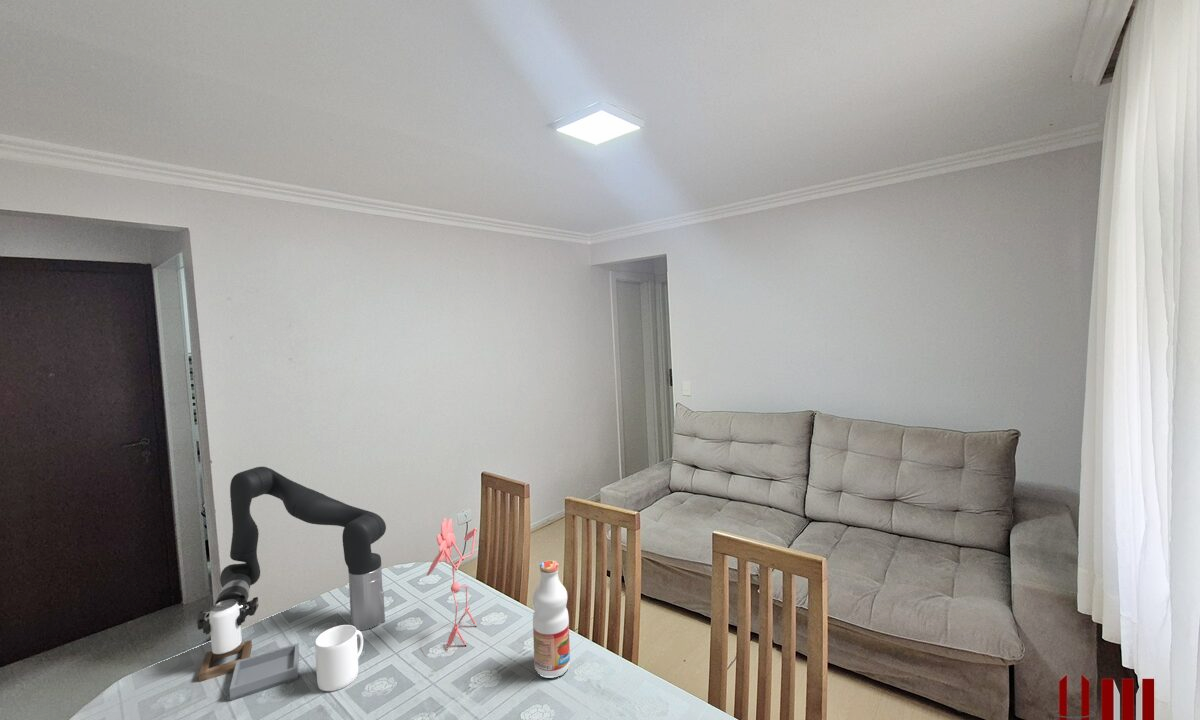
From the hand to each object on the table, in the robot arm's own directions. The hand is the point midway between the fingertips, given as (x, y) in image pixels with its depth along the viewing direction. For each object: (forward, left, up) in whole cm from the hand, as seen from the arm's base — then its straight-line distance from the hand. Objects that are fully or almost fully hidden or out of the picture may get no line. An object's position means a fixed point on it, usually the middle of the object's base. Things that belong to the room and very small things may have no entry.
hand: (223, 626), depth 129 cm
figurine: (-55, +18, -12) cm, 59 cm away
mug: (-27, +20, -12) cm, 36 cm away
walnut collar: (0, -3, -12) cm, 12 cm away
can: (0, -2, -8) cm, 8 cm away
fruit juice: (-75, +47, -12) cm, 89 cm away
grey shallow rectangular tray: (-10, +9, -12) cm, 18 cm away
